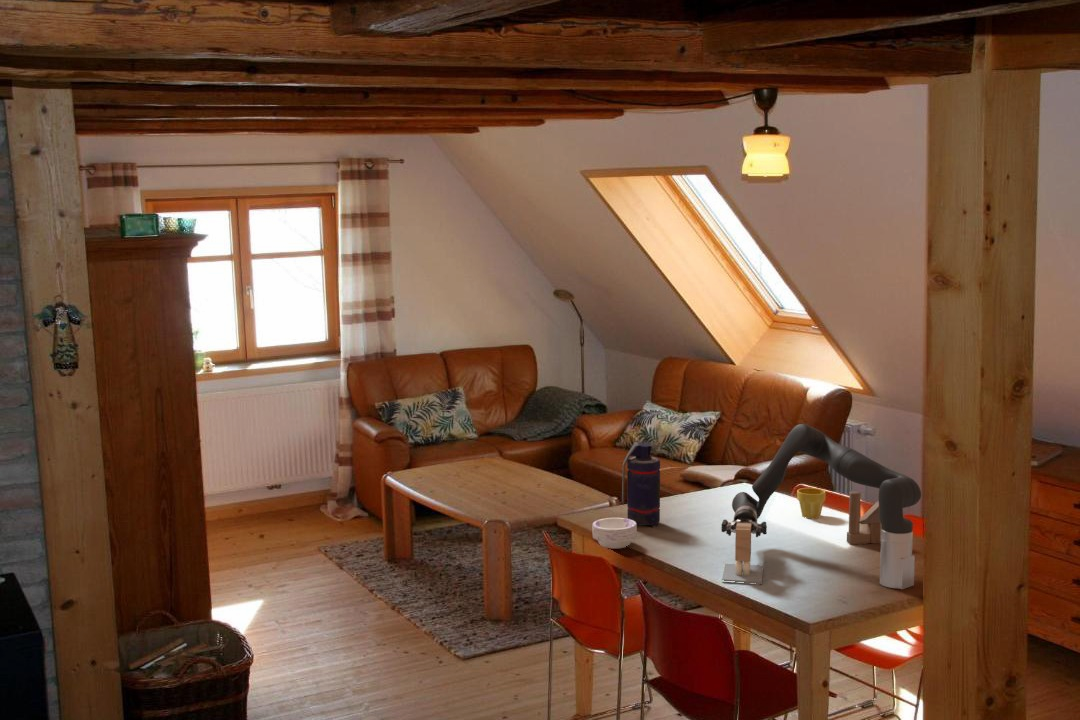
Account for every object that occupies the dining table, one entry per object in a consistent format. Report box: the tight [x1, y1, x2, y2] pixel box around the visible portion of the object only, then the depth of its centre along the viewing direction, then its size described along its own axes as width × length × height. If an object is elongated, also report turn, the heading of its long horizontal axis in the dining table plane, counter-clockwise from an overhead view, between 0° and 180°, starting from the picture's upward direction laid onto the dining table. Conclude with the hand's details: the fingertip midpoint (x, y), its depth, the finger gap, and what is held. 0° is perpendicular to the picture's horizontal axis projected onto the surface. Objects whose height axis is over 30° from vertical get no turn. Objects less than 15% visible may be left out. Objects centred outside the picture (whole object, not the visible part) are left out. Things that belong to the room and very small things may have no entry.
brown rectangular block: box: [734, 522, 752, 562], centre depth 364 cm, size 8×4×10 cm, turn 167°
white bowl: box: [591, 517, 638, 550], centre depth 398 cm, size 15×15×8 cm
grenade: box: [621, 441, 661, 527], centre depth 423 cm, size 14×12×30 cm
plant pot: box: [796, 487, 827, 519], centre depth 432 cm, size 10×10×10 cm
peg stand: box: [721, 557, 764, 585], centre depth 365 cm, size 16×12×6 cm
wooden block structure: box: [846, 490, 881, 545], centre depth 397 cm, size 4×11×18 cm, turn 95°
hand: (743, 533), depth 365 cm, fingers open, 8 cm apart
